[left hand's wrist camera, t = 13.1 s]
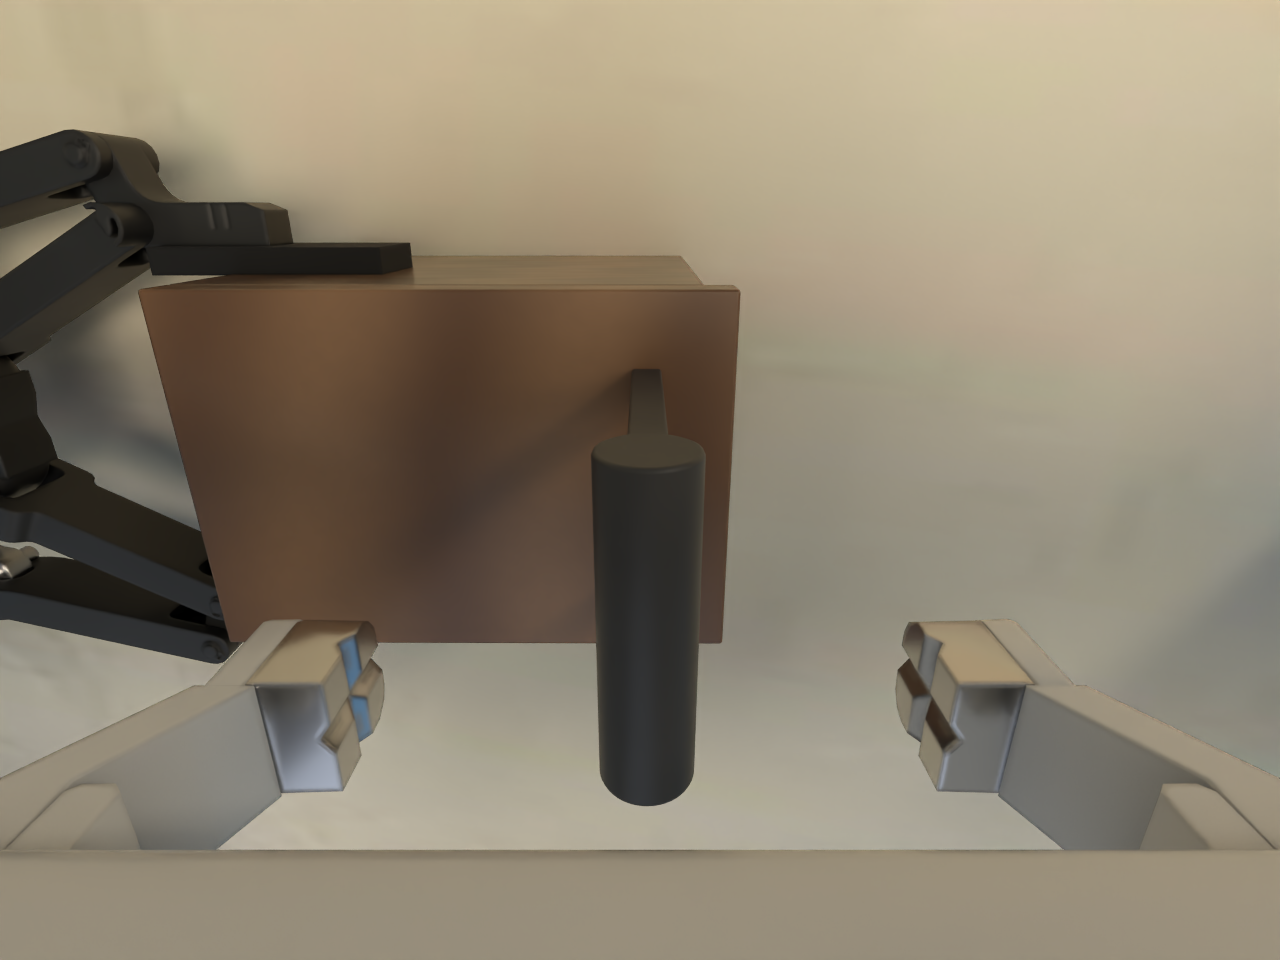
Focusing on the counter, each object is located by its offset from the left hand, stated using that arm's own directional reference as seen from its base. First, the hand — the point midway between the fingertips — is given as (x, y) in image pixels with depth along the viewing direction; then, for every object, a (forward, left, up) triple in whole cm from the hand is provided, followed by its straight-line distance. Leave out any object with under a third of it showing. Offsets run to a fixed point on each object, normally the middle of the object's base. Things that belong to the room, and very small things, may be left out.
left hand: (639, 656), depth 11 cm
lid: (+2, -4, -8) cm, 10 cm away
